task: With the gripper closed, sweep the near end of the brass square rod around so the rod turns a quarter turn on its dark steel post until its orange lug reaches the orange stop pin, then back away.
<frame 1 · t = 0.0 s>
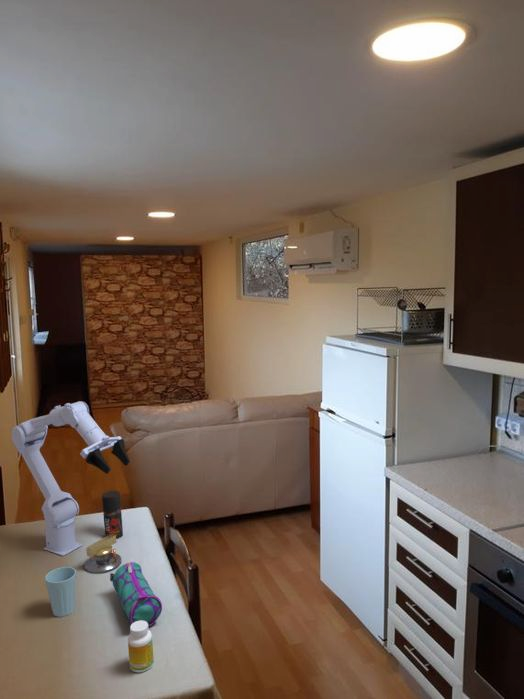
hand: (118, 467, 162), 32 cm above the table, tool tilted 50°, fingers open, 7 cm apart
cup: (63, 611, 147), on the table
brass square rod: (101, 546, 169), point 6 cm above the table, hinge at 0.0°
pencil case: (136, 610, 146), on the table
deodorant: (114, 536, 188), on the table
supplement bottle: (141, 665, 125), on the table
post base: (103, 564, 170), on the table
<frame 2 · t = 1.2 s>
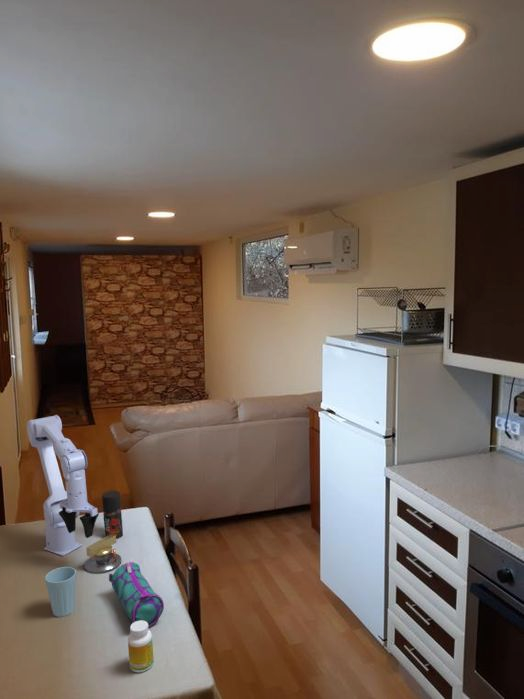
hand: (80, 534, 168), 11 cm above the table, tool pointing down, fingers open, 7 cm apart
nothing on the table moved.
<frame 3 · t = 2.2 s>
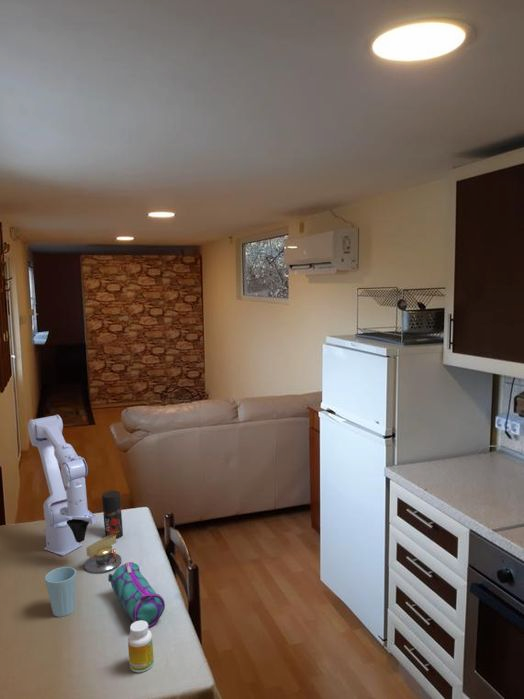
hand: (80, 540, 168), 8 cm above the table, tool pointing down, fingers closed
nothing on the table moved.
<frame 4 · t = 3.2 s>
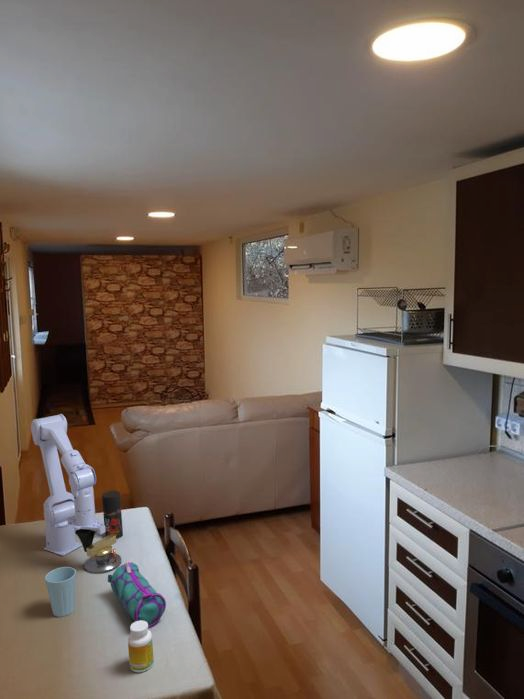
hand: (88, 550, 167), 6 cm above the table, tool pointing down, fingers closed, pressing on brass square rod
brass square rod: (101, 546, 169), point 6 cm above the table, hinge at 0.0°, touching gripper
everything else where it was.
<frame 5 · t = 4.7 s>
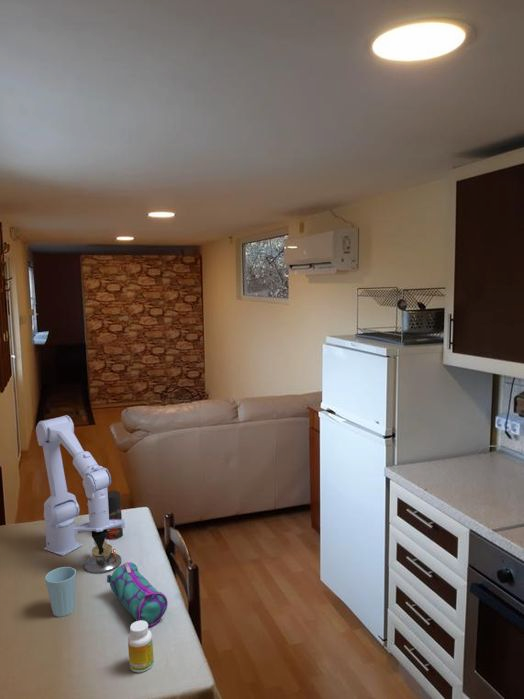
hand: (101, 552, 165), 6 cm above the table, tool pointing down, fingers closed, pressing on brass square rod
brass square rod: (101, 546, 169), point 6 cm above the table, hinge at 64.9°, touching gripper
everything else where it was.
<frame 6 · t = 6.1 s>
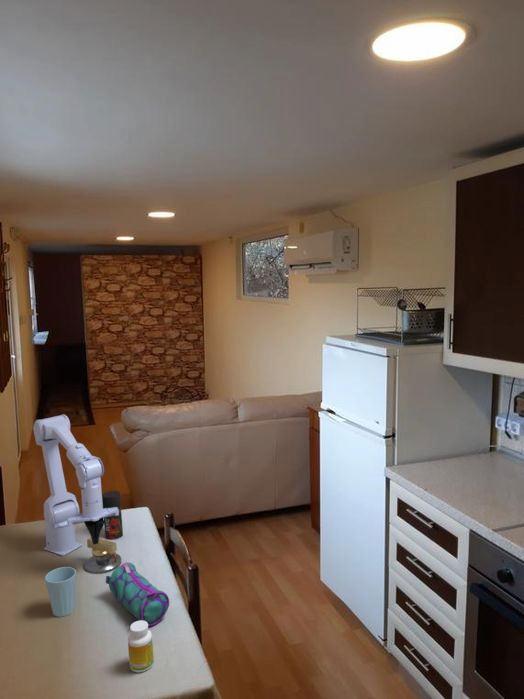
hand: (95, 542, 164), 9 cm above the table, tool pointing down, fingers closed
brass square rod: (101, 546, 169), point 6 cm above the table, hinge at 94.7°
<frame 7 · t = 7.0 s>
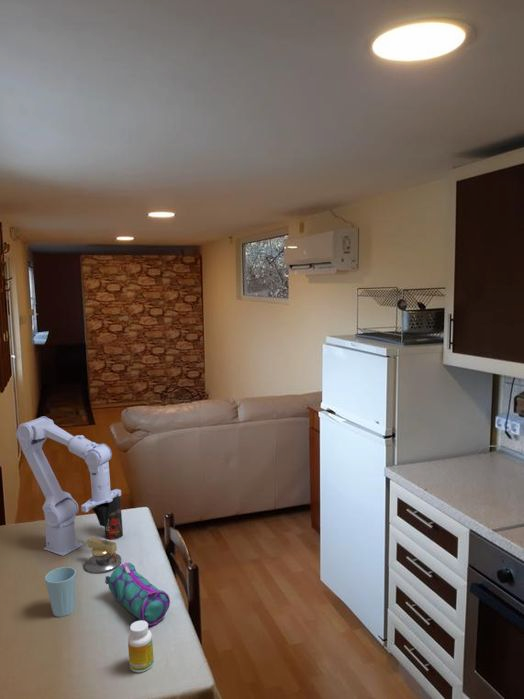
hand: (103, 525, 173), 10 cm above the table, tool pointing down, fingers closed
nothing on the table moved.
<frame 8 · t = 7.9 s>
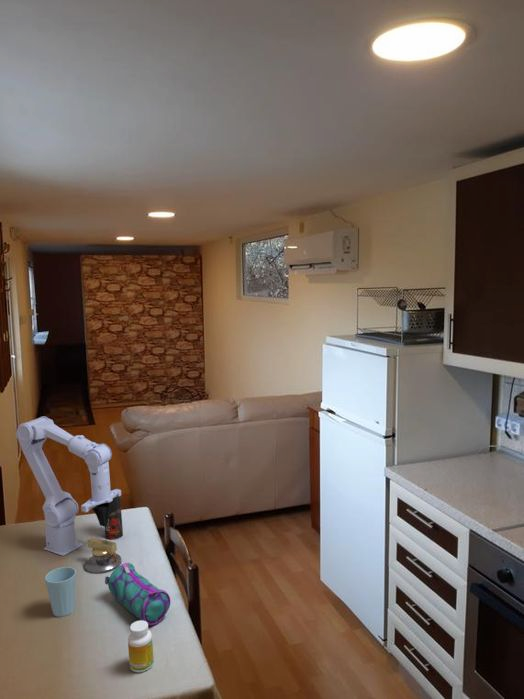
hand: (103, 525, 173), 10 cm above the table, tool pointing down, fingers closed
nothing on the table moved.
at the end: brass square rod at +95° (first picture: +0°); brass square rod touching nothing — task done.
